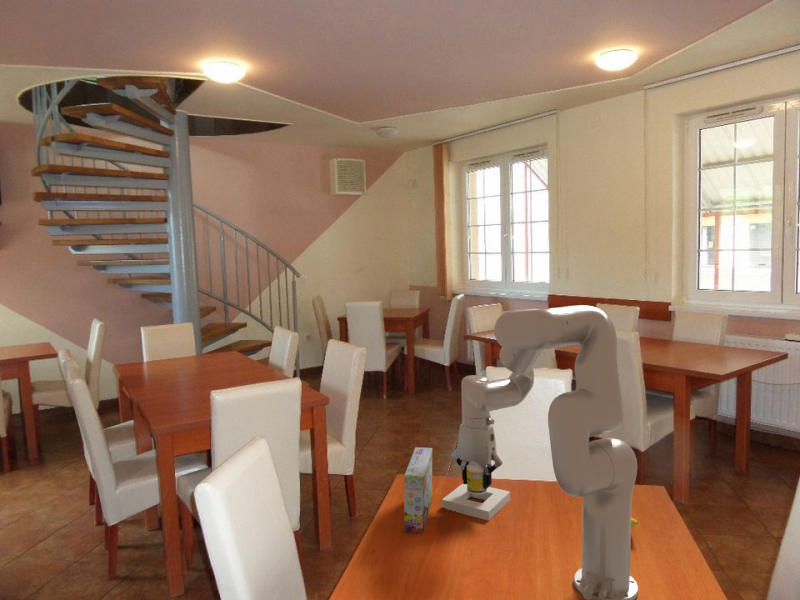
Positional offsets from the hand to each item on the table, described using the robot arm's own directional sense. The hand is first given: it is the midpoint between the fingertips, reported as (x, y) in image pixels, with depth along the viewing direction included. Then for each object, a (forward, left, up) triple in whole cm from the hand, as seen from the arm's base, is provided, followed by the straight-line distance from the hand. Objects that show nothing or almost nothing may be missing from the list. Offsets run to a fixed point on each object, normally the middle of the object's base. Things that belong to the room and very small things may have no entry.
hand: (476, 484), depth 160 cm
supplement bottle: (0, 0, -2) cm, 2 cm away
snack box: (-13, +11, -6) cm, 18 cm away
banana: (+9, -36, -6) cm, 37 cm away
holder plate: (0, 0, -6) cm, 6 cm away
